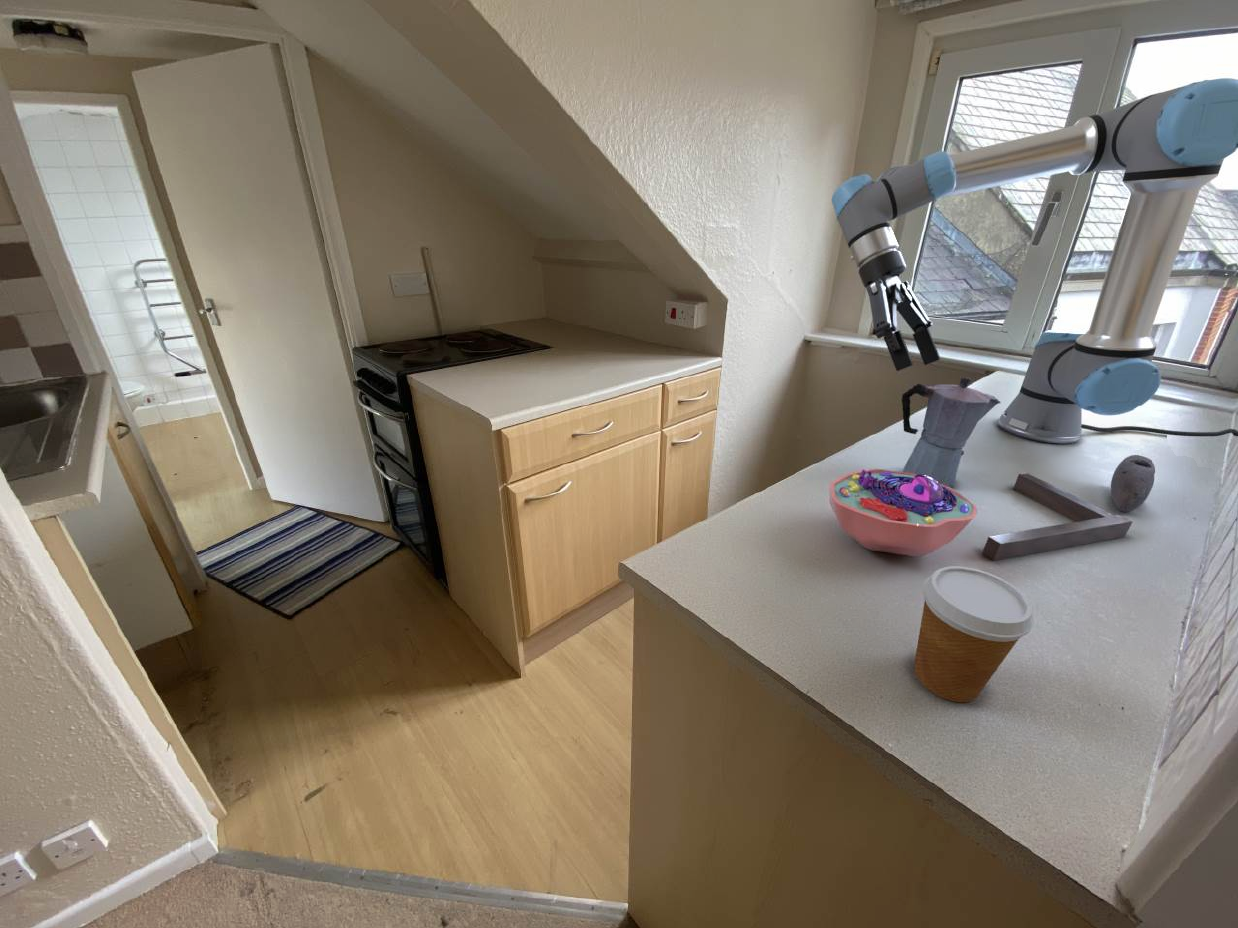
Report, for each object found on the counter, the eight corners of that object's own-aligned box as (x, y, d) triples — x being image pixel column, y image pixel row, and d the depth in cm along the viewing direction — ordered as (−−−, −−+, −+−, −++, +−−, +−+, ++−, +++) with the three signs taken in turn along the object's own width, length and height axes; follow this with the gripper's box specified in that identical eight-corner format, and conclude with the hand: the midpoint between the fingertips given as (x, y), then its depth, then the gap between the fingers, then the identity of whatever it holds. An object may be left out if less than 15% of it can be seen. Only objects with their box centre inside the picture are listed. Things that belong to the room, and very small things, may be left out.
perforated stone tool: (1139, 523, 87) (1158, 486, 84) (1098, 511, 90) (1115, 475, 87) (1145, 492, 97) (1162, 458, 94) (1108, 483, 100) (1124, 449, 97)
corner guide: (1025, 486, 98) (1031, 472, 97) (1124, 537, 84) (1133, 521, 82) (908, 503, 92) (913, 488, 91) (993, 560, 77) (1000, 544, 76)
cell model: (805, 511, 89) (817, 450, 84) (925, 514, 89) (944, 453, 84) (839, 574, 74) (857, 504, 69) (984, 578, 74) (1012, 509, 69)
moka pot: (980, 495, 95) (1019, 389, 86) (888, 486, 98) (917, 382, 89) (960, 472, 103) (994, 372, 94) (877, 464, 106) (902, 366, 97)
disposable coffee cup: (881, 647, 62) (907, 564, 57) (959, 644, 62) (993, 562, 57) (928, 718, 53) (964, 628, 48) (1018, 714, 54) (1064, 625, 49)
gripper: (885, 273, 110) (923, 367, 108) (828, 268, 94) (871, 379, 92) (923, 252, 104) (963, 352, 102) (868, 243, 88) (914, 361, 86)
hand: (919, 365), depth 97 cm, fingers open, 13 cm apart
